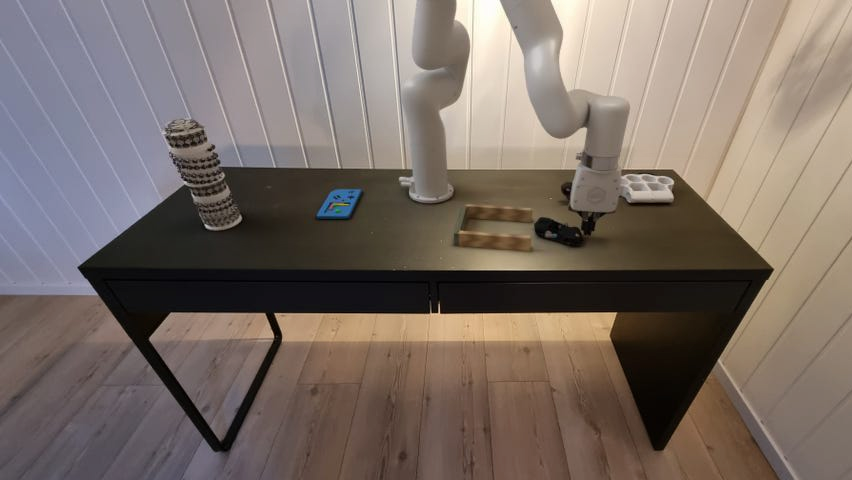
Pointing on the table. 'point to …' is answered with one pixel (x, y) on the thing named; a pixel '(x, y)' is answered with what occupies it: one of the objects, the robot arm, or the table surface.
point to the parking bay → (492, 238)
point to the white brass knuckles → (646, 188)
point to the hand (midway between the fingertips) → (586, 232)
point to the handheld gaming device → (339, 204)
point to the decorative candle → (202, 173)
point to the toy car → (558, 231)
